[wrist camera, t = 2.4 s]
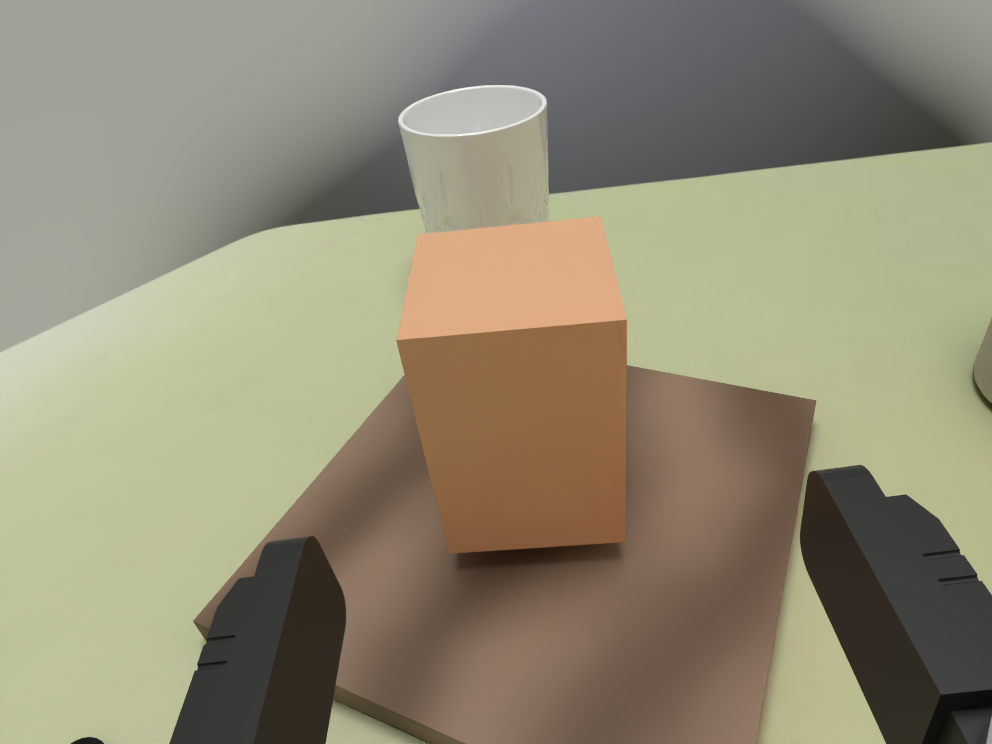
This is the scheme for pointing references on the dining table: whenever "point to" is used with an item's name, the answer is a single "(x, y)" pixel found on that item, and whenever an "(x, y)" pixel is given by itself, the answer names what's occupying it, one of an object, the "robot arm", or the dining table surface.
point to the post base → (568, 582)
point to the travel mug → (984, 365)
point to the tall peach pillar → (519, 383)
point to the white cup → (478, 157)
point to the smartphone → (88, 741)
